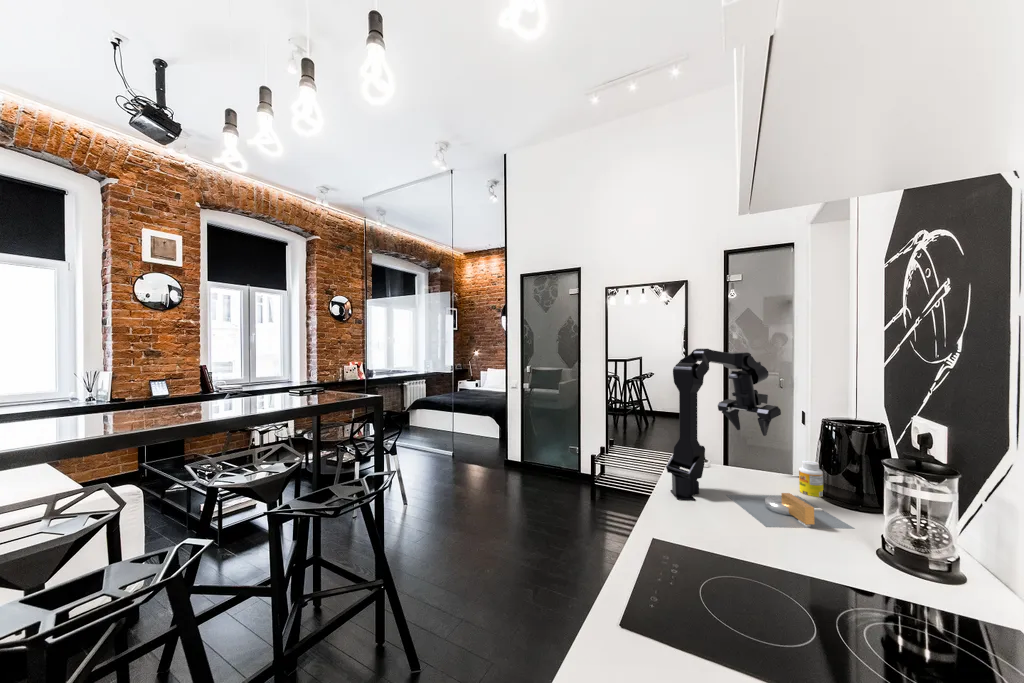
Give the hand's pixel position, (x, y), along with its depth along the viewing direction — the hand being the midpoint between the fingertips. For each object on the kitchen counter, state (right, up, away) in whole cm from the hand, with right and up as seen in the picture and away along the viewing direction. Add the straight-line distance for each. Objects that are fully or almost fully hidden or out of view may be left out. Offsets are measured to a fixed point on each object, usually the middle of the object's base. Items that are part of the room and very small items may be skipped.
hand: (751, 432), depth 130 cm
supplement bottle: (+6, -15, -18) cm, 24 cm away
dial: (-10, -13, -32) cm, 36 cm away
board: (-10, -15, -29) cm, 34 cm away
